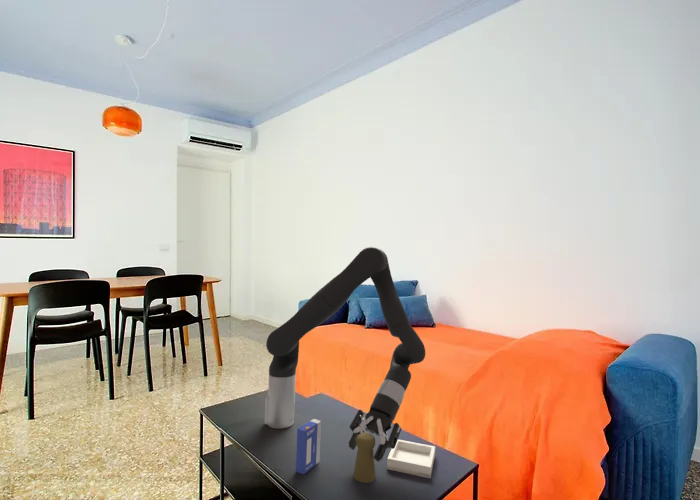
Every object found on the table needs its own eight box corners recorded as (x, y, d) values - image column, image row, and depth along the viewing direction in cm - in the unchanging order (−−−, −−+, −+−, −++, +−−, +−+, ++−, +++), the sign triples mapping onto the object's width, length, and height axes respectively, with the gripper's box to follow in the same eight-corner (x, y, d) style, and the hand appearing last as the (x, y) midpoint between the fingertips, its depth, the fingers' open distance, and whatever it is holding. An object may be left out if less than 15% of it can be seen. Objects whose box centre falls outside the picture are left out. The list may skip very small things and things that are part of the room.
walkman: (303, 474, 102) (305, 430, 102) (295, 471, 104) (297, 427, 104) (320, 461, 109) (321, 419, 109) (312, 458, 110) (313, 417, 111)
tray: (387, 469, 106) (387, 458, 106) (395, 448, 118) (395, 438, 118) (430, 478, 103) (430, 467, 103) (435, 456, 114) (435, 446, 114)
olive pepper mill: (352, 469, 106) (353, 429, 106) (373, 469, 106) (375, 429, 106) (354, 482, 100) (355, 440, 100) (377, 482, 100) (378, 440, 100)
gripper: (363, 386, 114) (337, 438, 105) (404, 399, 105) (379, 457, 96) (373, 399, 118) (348, 450, 109) (413, 413, 109) (390, 470, 100)
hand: (363, 454), depth 102 cm, fingers open, 8 cm apart
